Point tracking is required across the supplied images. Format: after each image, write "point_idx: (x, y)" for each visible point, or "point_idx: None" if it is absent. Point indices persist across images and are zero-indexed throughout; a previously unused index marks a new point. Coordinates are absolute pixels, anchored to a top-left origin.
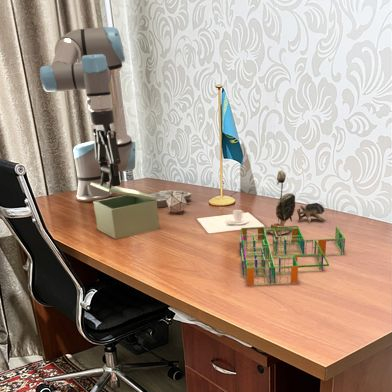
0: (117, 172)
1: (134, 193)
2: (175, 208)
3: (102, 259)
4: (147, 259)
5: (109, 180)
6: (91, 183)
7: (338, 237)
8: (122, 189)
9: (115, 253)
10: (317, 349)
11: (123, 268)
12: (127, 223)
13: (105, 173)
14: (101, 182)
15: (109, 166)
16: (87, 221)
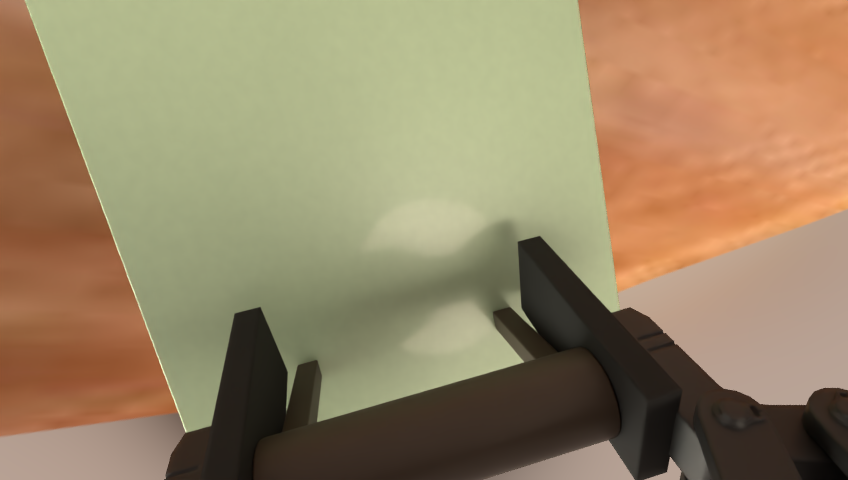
0: (661, 341)
1: (565, 85)
2: None
3: (672, 264)
4: (803, 119)
5: (262, 318)
6: None
7: None
8: (336, 160)
9: (653, 215)
10: None
11: (797, 215)
12: None
13: (268, 412)
14: (319, 389)
15: (634, 474)
16: (22, 274)
